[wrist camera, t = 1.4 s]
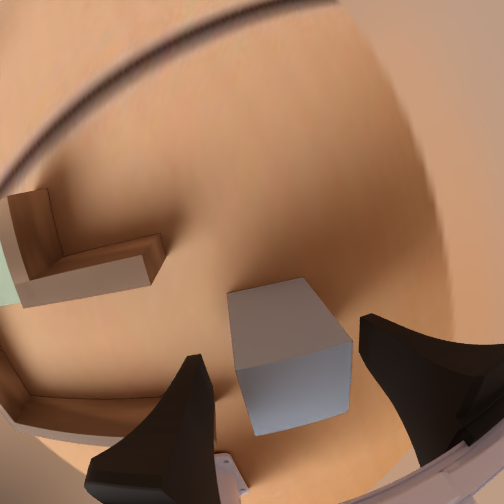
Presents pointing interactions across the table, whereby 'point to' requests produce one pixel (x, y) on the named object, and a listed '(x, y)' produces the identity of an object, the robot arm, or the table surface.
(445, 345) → the robot arm
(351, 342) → the block
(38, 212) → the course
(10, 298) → the pad
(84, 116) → the table surface
